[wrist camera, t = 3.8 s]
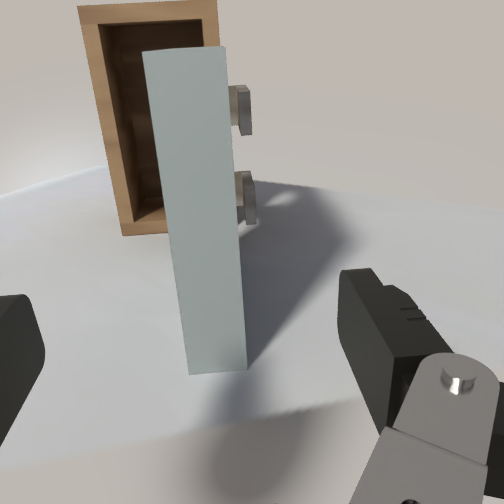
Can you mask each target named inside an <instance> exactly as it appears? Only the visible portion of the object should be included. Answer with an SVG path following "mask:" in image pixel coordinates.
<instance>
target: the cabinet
mask: <svg viewBox="0 0 504 504" xmlns="http://www.w3.org/2000/svg"><path fill="white" fill-rule="evenodd" d="M77 9H78V13H79V19H80V24H81V29H82V34H83V39H84V44H85V48H86V54H87V59H88V64H89V69H90V74H91V79H92V84H93V89H94V94H95V100H96V105H97V110H98V114H99V120H100V124H101V129H102V135H103V140H104V144H105V150H106V155H107V160H108V165H109V170H110V175H111V180H112V185H113V190H114V195H115V200H116V205H117V210H118V215H119V221H120V226H121V231H122V236H127V235H140V234H153V233H167V232H168V227H167V220H166V213H165V206H164V199H163V193H162V186H161V179H160V172H159V165H158V158H157V152H156V145H155V138H154V131H153V124H152V118H151V111H150V104H149V97H148V90H147V83H146V77H145V70H144V63H143V56H142V52H145V51H154V50H163V49H173V48H191V47H209V46H220V38H219V24H218V11H217V0H186V1H165V2H145V3H125V4H106V5H86V6H77ZM228 92H229V106H230V121H231V126H233V125H238V126H239V130H240V133H241V136H244V135H252V121H251V101H250V90H249V89H248V88H247V86H246V85H237V86H228ZM234 178H235V193H236V206H243V207H244V213H245V219H246V225H252V224H256V203H255V187H254V183H253V180H252V176H251V172H250V171H239V172H234Z"/></svg>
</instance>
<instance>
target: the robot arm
mask: <svg viewBox="0 0 504 504" xmlns="http://www.w3.org/2000/svg"><path fill="white" fill-rule="evenodd" d="M337 325H338V334H339V339H340V343H341V345H342V348H343V350H344V352H345V355H346V357H347V359H348V362H349V364H350V367H351V369H352V371H353V374H354V376H355V378H356V381H357V383H358V386H359V388H360V390H361V393H362V395H363V397H364V400H365V402H366V404H367V407H368V409H369V412H370V414H371V416H372V419H373V421H374V423H375V426H376V428H377V430H378V433H379V435H380V437H379V439H378V441H377V444H376V446H375V448H374V450H373V452H372V454H371V457H370V459H369V461H368V463H367V466H366V468H365V470H364V472H363V474H362V476H361V479H360V481H359V483H358V485H357V487H356V490H355V492H354V494H353V496H352V499H351V501H350V503H349V504H482V500H483V495H486V496H492V497H496V498H501V499H504V383H502V382H499V381H498V379H497V377H496V376H495V374H494V373H493V372H492V371H491V370H490V369H489V368H488V367H486V366H485V365H484V364H482V363H480V362H479V361H477V360H475V359H472V358H470V357H467V356H464V355H460V354H455V353H454V352H453V351H452V350H451V348H450V347H449V346H448V345H447V343H446V342H445V341H444V339H443V338H442V337H441V336H440V334H439V333H438V332H437V330H436V329H435V328H434V327H433V325H432V324H431V323H430V321H429V320H426V316H425V315H424V314H423V312H422V311H421V310H420V309H418V306H417V305H416V303H415V302H414V301H413V300H412V298H411V297H410V296H409V295H408V294H407V293H405V292H403V291H402V290H400V289H398V288H397V287H395V286H394V285H386V286H383V284H382V283H381V281H380V280H379V279H378V277H377V276H376V274H375V273H374V272H373V270H372V269H371V268H364V269H351V270H342V271H341V273H340V277H339V296H338V317H337ZM44 360H45V347H44V343H43V339H42V336H41V333H40V330H39V327H38V324H37V320H36V317H35V314H34V311H33V308H32V304H31V302H30V300H29V298H28V297H27V296H26V295H24V294H20V295H7V296H0V446H1V444H2V443H3V441H4V439H5V437H6V435H7V433H8V431H9V430H10V428H11V426H12V424H13V422H14V420H15V418H16V417H17V415H18V413H19V411H20V409H21V407H22V405H23V404H24V402H25V400H26V398H27V396H28V394H29V392H30V391H31V389H32V387H33V385H34V383H35V381H36V379H37V378H38V376H39V374H40V372H41V370H42V368H43V365H44Z"/></svg>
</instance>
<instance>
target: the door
mask: <svg viewBox="0 0 504 504" xmlns="http://www.w3.org/2000/svg"><path fill="white" fill-rule="evenodd" d="M142 56H143V63H144V70H145V77H146V83H147V90H148V97H149V104H150V111H151V118H152V124H153V131H154V138H155V145H156V152H157V158H158V165H159V172H160V179H161V186H162V193H163V199H164V206H165V213H166V220H167V227H168V233H169V240H170V247H171V254H172V261H173V268H174V274H175V281H176V288H177V295H178V302H179V308H180V315H181V322H182V329H183V336H184V343H185V349H186V356H187V363H188V370H189V375H195V374H206V373H217V372H228V371H239V370H248V366H247V351H246V337H245V323H244V308H243V294H242V279H241V265H240V250H239V236H238V222H237V207H236V193H235V178H234V164H233V150H232V135H231V121H230V106H229V92H228V80H227V79H228V77H227V64H226V49H225V47H223V46H209V47H191V48H173V49H163V50H154V51H145V52H142Z"/></svg>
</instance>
